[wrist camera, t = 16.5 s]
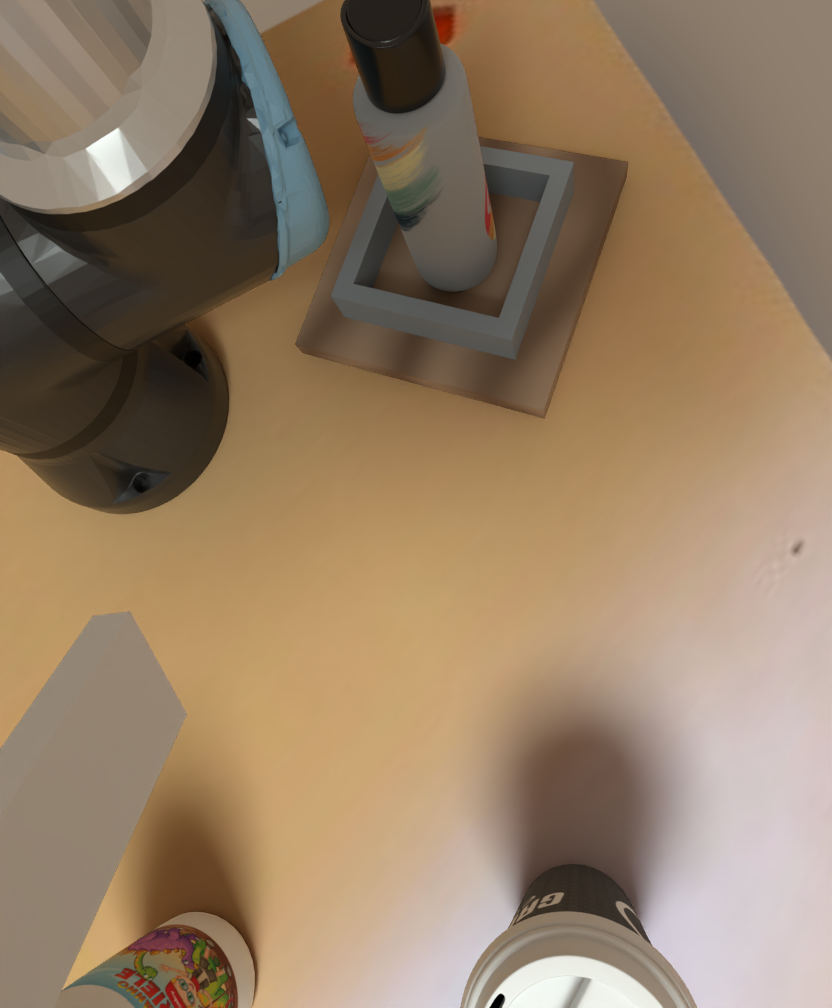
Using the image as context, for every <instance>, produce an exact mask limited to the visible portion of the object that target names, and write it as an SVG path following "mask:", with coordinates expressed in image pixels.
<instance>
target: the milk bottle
mask: <svg viewBox="0 0 832 1008" xmlns="http://www.w3.org/2000/svg"><path fill="white" fill-rule="evenodd" d="M254 990H255V972H254V966H253V960H252V957H251V954H250V951H249V948H248V946H247V945H246V943H245V941H244V939H243V937H242V936H241V935H240V934H239V933H238V931H237V930H236V929H235V928H234V927H233V926H232V925H231V924H229V923H228V922H227V921H226V920H224V919H222V918H220V917H218V916H216V915H212V914H209V913H204V912H188V913H184V914H180V915H178V916H176V917H174V918H172V919H170V920H168V921H167V922H165V923H163V924H161V925H160V926H158V927H157V928H155V929H154V930H152V931H151V932H149V933H148V934H146V935H144V936H143V937H141V938H140V939H138V940H137V941H135V942H134V943H132V944H131V945H129V946H128V947H126V948H125V949H123V950H121V951H120V952H118V953H117V954H115V955H114V956H112V957H111V958H109V959H108V960H106V961H105V962H103V963H102V964H100V965H99V966H97V967H96V968H94V969H93V970H91V971H90V972H88V973H87V974H85V975H84V976H82V977H81V978H79V979H78V980H76V981H75V982H73V983H72V984H71V985H69V986H68V987H66V988H65V989H64V990H62V991H61V993H60V995H59V997H58V999H57V1002H56V1004H55V1006H54V1008H251V1006H252V1002H253V998H254Z"/></svg>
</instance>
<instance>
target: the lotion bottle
mask: <svg viewBox="0 0 832 1008" xmlns="http://www.w3.org/2000/svg"><path fill="white" fill-rule="evenodd" d="M341 22H342V25H343V29H344V31H345V34H346V37H347V40H348V43H349V46H350V49H351V52H352V54H353V57H354V60H355V63H356V66H357V69H358V72H359V77H358V79H357V82H356V84H355V88H354V93H353V106H354V112H355V116H356V119H357V122H358V124H359V127H360V129H361V132H362V134H363V137H364V140H365V142H366V144H367V147H368V149H369V152H370V154H371V157H372V159H373V162H374V164H375V167H376V169H377V172H378V174H379V177H380V179H381V182H382V184H383V186H384V189H385V191H386V194H387V196H388V199H389V201H390V204H391V206H392V209H393V211H394V214H395V216H396V218H397V221H398V223H399V226H400V228H401V231H402V233H403V236H404V238H405V241H406V243H407V246H408V248H409V251H410V253H411V255H412V258H413V260H414V262H415V265H416V267H417V269H418V271H419V273H420V274H421V276H422V277H423V279H424V280H425V281H426V282H427V283H428V284H430V285H431V286H433V287H434V288H437V289H439V290H442V291H448V292H458V291H463V290H467V289H469V288H472V287H474V286H475V285H477V284H479V283H480V282H481V281H482V280H484V279H485V278H486V277H487V275H488V274H489V273H490V271H491V270H492V268H493V266H494V264H495V261H496V257H497V238H496V231H495V226H494V220H493V215H492V209H491V204H490V198H489V193H488V187H487V182H486V177H485V171H484V166H483V160H482V155H481V150H480V144H479V139H478V133H477V128H476V122H475V117H474V112H473V106H472V101H471V96H470V91H469V86H468V81H467V77H466V72H465V69H464V67H463V65H462V63H461V61H460V59H459V57H458V56H457V55H456V54H455V53H454V52H453V51H452V50H451V49H450V48H448V47H447V46H445V45H443V44H441V43H440V40H439V36H438V32H437V28H436V23H435V19H434V15H433V11H432V7H431V2H430V0H345V1H344V3H343V5H342V8H341Z"/></svg>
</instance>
